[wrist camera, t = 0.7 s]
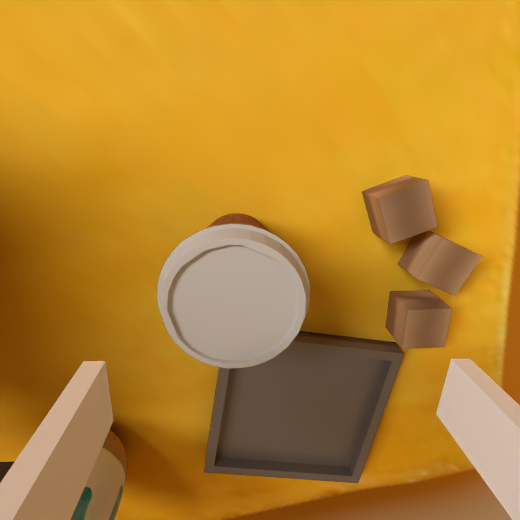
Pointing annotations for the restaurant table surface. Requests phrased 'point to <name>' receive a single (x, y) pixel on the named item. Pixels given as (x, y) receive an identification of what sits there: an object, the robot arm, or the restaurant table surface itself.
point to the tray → (303, 409)
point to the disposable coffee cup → (233, 293)
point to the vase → (104, 483)
